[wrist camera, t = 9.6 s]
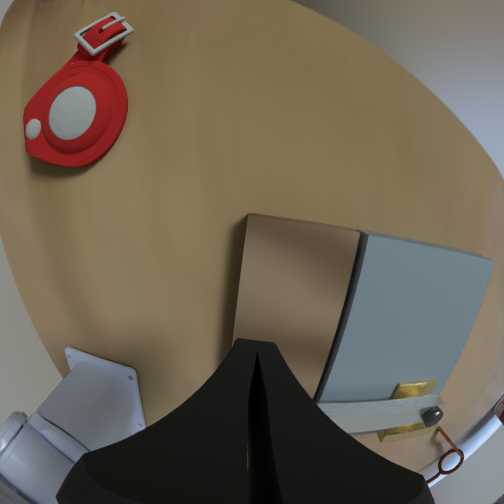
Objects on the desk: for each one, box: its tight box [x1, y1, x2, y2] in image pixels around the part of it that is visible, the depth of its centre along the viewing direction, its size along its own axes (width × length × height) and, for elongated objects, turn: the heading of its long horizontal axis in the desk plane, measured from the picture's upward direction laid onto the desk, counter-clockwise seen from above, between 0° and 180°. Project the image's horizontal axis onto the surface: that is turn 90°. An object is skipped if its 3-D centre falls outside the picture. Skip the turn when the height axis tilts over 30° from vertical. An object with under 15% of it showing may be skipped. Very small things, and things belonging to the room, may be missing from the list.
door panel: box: [313, 230, 494, 436], centre depth 18 cm, size 18×13×2 cm
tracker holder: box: [23, 12, 133, 167], centre depth 14 cm, size 12×4×10 cm
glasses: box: [426, 427, 464, 484], centre depth 22 cm, size 13×13×5 cm
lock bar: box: [316, 394, 444, 433], centre depth 16 cm, size 15×3×2 cm, turn 83°
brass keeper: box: [376, 379, 438, 443], centre depth 17 cm, size 4×6×3 cm
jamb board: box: [232, 213, 360, 400], centre depth 18 cm, size 18×7×3 cm, turn 173°
